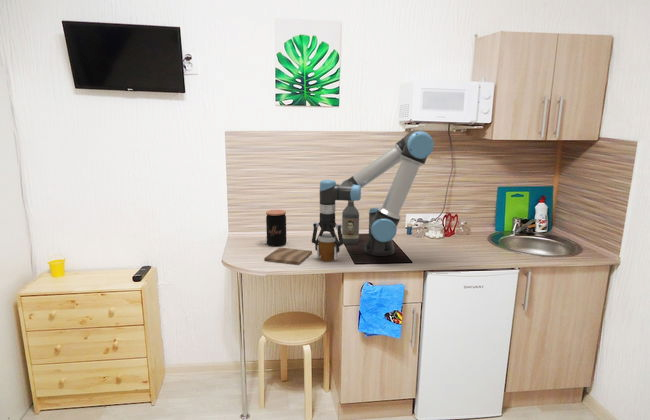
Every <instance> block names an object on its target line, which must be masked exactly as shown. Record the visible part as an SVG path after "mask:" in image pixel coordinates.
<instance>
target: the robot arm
mask: <svg viewBox="0 0 650 420" xmlns="http://www.w3.org/2000/svg"><path fill="white" fill-rule="evenodd" d="M432 137H433V136H431V135H430V134H429V133H428V132H426V131H422V130H412V131H410V132H408V133H407V134H406V135H405V136H403V137H402V138H401V139H400V140H399V141H397V142H396V143H394V147H392V148H391V149H389V150H387V151H386V152H385V153H383V154H382V155H380V156H379V157H378V158H377V159H375V160H373V161H372V162H371V163H369V164H368V165H367V166H365V167H364V168H362V169H361V170H359V171H358V172H356V173H355V174H354V175H352V176H351V177H349V178H348V179H345V180H343V181H342V183H341V184H337V182H336V181H335V180H334V179H323V180H321V181H320V182H319V212H320V213H319V222H314V223H313V226H312V227H313V230H312V237H311V243H312V244H314V245H315V247H314V248H315V249H314V251H316V258H318V259H319V258H321V256H320V248H319V241H318V236H322V235H323V234H324V232H325V233H326V232H327V233H330V234H331V235H332V237H335V245H336V246H335V247H334V260H333V261H335V260H337V259H338V254H339V252H340V246H341V247H342V246H343V245H344V243H343V238H342V224H338V223H336V201H341V202H342V201H347V202H348V201H354V202H356V201H360V200H361V198H362V197H361V196H362V188H364V187H365V186H367V185H368V184H370V183H371V182H372V181H374V180H375V179H377V178H379V177H380V176H381V175H383V174H384V173H385V172H387V171H389V170H390V169H392V168H394V167H395V166H396V165H398V164H399V166H398V169H397V171H396V173H395V176H394V178H393V180H392V183H391V186H390V188H389V190H388V193H387V194H386V197H385V199H384V202H383V204H382V205H381V206H380V207H372V208H371V207H370V209H369V212H368V215H369V216H368V238H367V240H366V243H365V245H364V252H365V254H368V255H370V256H375V257H387V256H388V257H389V256H392V255H393V254H395V246H394V242H393V239H394V238H395V237H396V235H397V229H398V228H397V227H398V225H399V223H400V221H401V215H400V212H401V210H402V208H403V205H404V203H405V202H406V199H407V196H408V194H409V193H410V190H411V187H412V185H413V183H414V180H415V177H416V176H417V174H418V172H419V169H420V167H421V166H424V165H426V164H425V163H426V161H427V159H428V157H429V156H430V155H431V154H432V153H433V150H434V147H435V143H434V139H433V138H432ZM319 227H320V231H319V234H318V229H319ZM335 227H336V230H337V232H336V231H335ZM336 233H337V234H336ZM317 234H318V235H317Z"/></svg>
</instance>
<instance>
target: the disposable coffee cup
mask: <svg viewBox="0 0 650 420" xmlns="http://www.w3.org/2000/svg"><path fill="white" fill-rule="evenodd" d="M317 238H318V241H319V248H320V260H321V261H322V262H332V261H335V260H334V247H335V246H336V245H335V237H332V235H331V233H330V232H327V233H326V232H325V233H324V232H323V235H322V236H318V235H317Z"/></svg>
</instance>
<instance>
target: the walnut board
mask: <svg viewBox="0 0 650 420" xmlns="http://www.w3.org/2000/svg"><path fill="white" fill-rule="evenodd" d="M312 254H313V251H312V250H310V249H309V250H307V249H300V248H299V249H297V248H290V247H289V248H287V247H281V246H278V248H276V249H275V250H274V251H272V252H271V253H270V254H268V255H266V256H265V257H264V258H263V259H264V262H269V263H278V264H279V263H280V264H286V265H287V264H288V265H295V266H296V265H297V266H300V265H301V264H302V263H304V261H305V260H307V259H308V258H309V257H310V256H311V255H312Z"/></svg>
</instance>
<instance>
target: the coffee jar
mask: <svg viewBox="0 0 650 420" xmlns="http://www.w3.org/2000/svg"><path fill="white" fill-rule="evenodd" d="M265 214H266V216H265V221H266V222H265V223H266V230H265V231H266V243H267V244H268V246H269V247H283V246H285V245H286V244H287V215H286V214H287V211H286V210H283V209H269V210H267V211H266V212H265Z"/></svg>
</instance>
